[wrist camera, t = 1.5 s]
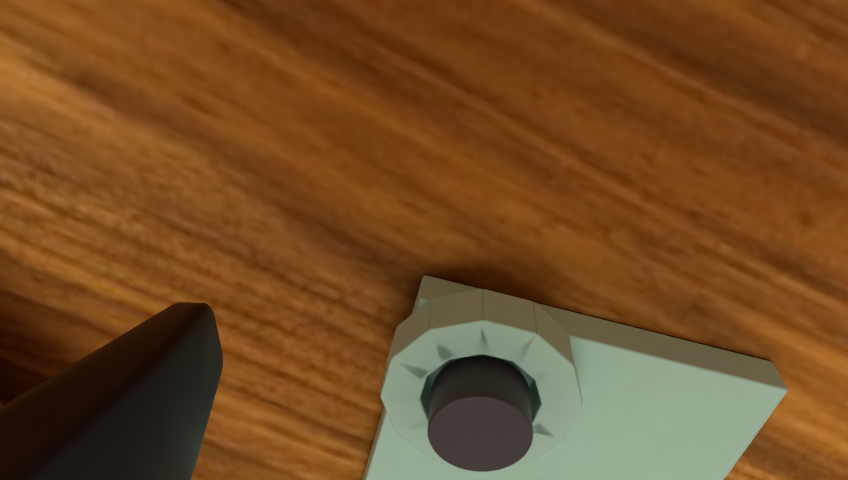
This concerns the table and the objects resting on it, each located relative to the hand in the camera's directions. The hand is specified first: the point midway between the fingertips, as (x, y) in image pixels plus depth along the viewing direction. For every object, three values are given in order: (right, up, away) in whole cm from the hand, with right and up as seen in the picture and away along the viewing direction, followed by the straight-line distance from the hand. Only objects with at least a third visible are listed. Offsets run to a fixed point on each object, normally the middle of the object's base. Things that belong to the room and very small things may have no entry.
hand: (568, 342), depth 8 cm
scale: (+3, -6, +17) cm, 18 cm away
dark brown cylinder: (0, -3, +12) cm, 13 cm away
